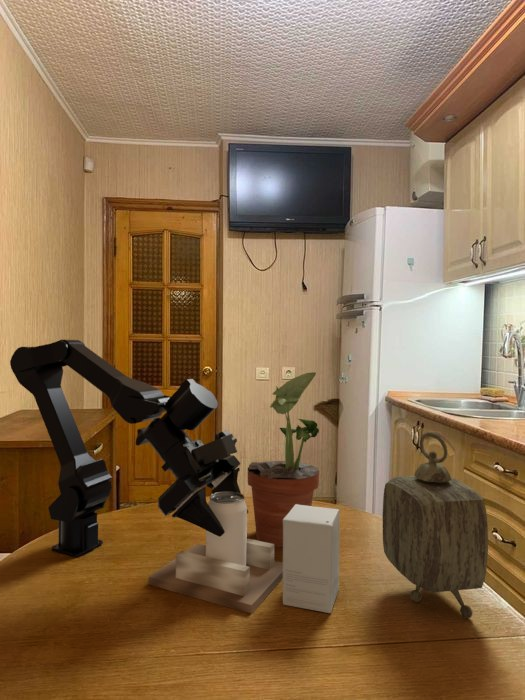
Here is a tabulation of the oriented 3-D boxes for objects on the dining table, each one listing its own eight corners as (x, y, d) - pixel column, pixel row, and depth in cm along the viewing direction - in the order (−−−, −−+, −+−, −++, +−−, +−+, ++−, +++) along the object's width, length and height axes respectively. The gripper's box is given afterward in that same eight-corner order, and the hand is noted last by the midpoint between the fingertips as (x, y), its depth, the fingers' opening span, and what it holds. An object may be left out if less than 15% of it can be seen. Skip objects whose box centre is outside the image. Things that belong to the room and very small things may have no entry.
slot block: (148, 584, 74) (148, 553, 74) (197, 550, 87) (197, 523, 87) (251, 613, 67) (252, 579, 67) (288, 571, 79) (289, 542, 79)
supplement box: (340, 590, 74) (341, 508, 74) (330, 615, 67) (332, 525, 67) (293, 581, 76) (295, 502, 76) (280, 605, 69) (282, 518, 69)
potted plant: (336, 534, 96) (339, 359, 95) (289, 558, 84) (293, 360, 84) (276, 514, 106) (279, 357, 106) (227, 534, 94) (230, 357, 94)
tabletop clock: (486, 624, 65) (490, 442, 65) (426, 631, 63) (430, 443, 63) (428, 574, 79) (432, 424, 79) (378, 579, 77) (381, 425, 77)
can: (250, 578, 74) (251, 501, 74) (208, 583, 73) (210, 504, 72) (241, 560, 80) (242, 489, 80) (202, 564, 79) (204, 491, 79)
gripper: (177, 425, 69) (245, 512, 65) (231, 409, 86) (288, 477, 82) (130, 473, 72) (193, 559, 68) (192, 449, 89) (245, 516, 85)
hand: (235, 524), depth 76 cm, fingers open, 9 cm apart
